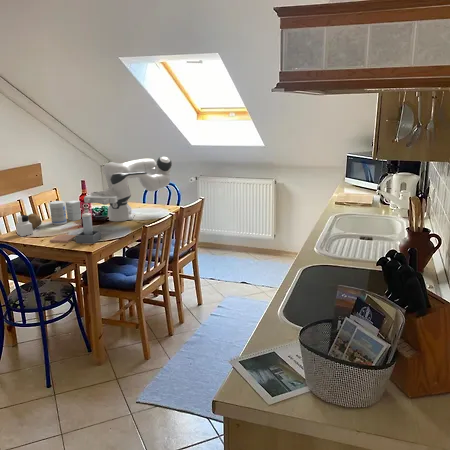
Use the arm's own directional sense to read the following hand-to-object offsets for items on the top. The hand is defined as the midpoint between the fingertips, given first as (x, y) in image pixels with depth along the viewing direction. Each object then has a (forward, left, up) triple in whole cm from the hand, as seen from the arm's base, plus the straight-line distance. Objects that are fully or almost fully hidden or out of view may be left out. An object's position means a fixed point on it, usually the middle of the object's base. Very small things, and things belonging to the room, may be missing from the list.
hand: (95, 202), depth 263 cm
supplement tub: (-22, -38, -21) cm, 48 cm away
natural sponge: (-8, -48, -21) cm, 53 cm away
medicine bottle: (+5, -46, -21) cm, 51 cm away
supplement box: (-34, -33, -21) cm, 52 cm away
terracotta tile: (+12, -17, -21) cm, 29 cm away
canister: (+12, -1, -21) cm, 24 cm away
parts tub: (+12, -1, -21) cm, 24 cm away
